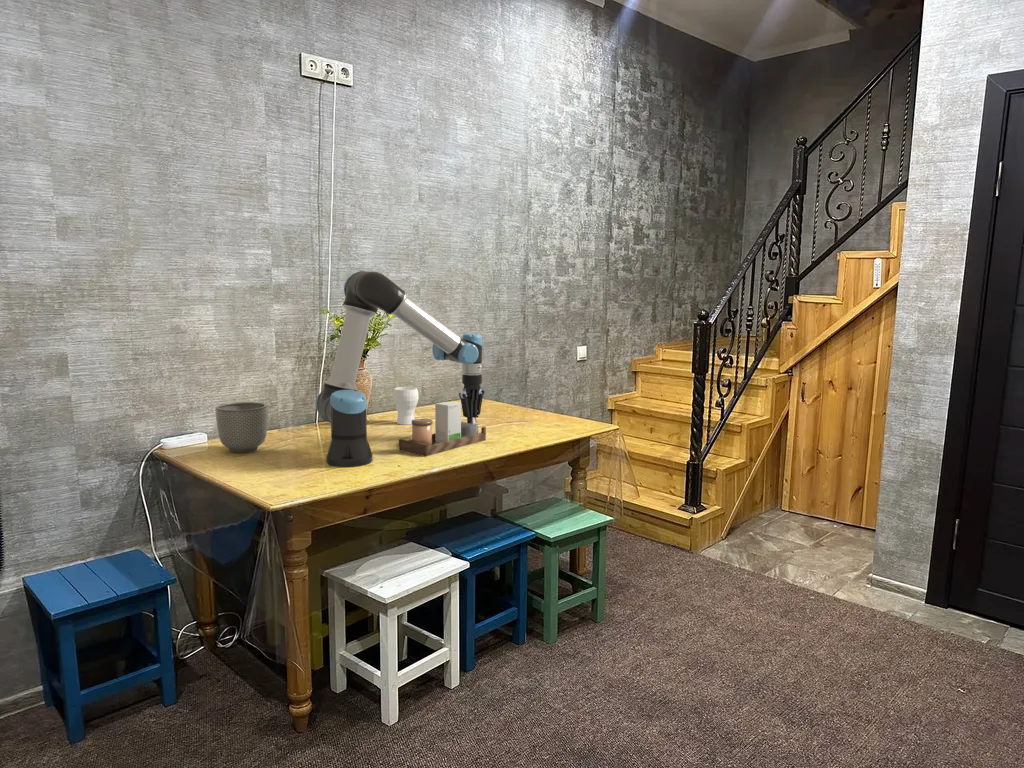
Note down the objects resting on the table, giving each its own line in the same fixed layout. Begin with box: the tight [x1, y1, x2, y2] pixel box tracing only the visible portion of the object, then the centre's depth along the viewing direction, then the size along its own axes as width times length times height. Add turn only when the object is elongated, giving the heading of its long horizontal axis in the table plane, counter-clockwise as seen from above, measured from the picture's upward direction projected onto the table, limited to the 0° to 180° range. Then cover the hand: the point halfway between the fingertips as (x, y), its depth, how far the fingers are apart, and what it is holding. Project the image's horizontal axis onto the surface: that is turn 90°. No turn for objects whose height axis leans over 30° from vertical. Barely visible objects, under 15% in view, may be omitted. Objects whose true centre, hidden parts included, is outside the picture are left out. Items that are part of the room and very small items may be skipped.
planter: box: [215, 401, 269, 454], centre depth 249 cm, size 17×17×16 cm
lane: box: [398, 426, 487, 457], centre depth 263 cm, size 33×13×5 cm, turn 143°
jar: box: [411, 418, 433, 446], centre depth 253 cm, size 7×7×11 cm
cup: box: [392, 386, 420, 426], centre depth 300 cm, size 11×11×15 cm
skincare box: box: [434, 401, 462, 445], centre depth 264 cm, size 8×7×16 cm
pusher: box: [461, 421, 479, 438], centre depth 275 cm, size 5×10×6 cm, turn 53°
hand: (471, 433), depth 276 cm, fingers closed
